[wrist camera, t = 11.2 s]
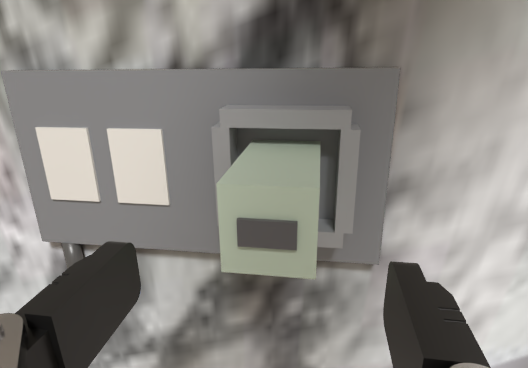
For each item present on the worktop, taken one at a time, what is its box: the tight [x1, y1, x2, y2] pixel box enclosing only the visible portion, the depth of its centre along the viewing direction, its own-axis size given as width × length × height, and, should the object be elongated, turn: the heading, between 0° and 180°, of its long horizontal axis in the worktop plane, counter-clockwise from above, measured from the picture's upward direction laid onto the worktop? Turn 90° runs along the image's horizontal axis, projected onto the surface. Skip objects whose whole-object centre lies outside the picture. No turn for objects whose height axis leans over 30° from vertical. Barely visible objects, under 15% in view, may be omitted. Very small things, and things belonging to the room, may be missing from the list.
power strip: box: [1, 67, 400, 269], centre depth 23 cm, size 16×24×3 cm, turn 91°
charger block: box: [216, 140, 321, 279], centre depth 18 cm, size 4×4×8 cm
